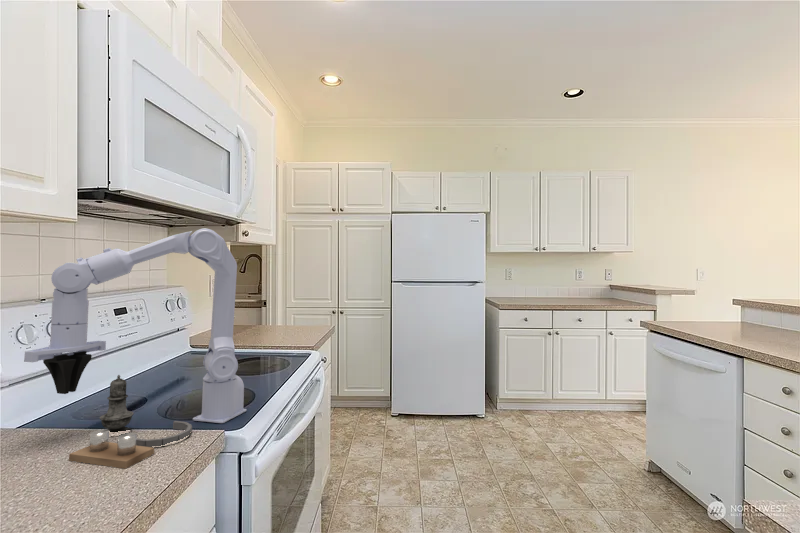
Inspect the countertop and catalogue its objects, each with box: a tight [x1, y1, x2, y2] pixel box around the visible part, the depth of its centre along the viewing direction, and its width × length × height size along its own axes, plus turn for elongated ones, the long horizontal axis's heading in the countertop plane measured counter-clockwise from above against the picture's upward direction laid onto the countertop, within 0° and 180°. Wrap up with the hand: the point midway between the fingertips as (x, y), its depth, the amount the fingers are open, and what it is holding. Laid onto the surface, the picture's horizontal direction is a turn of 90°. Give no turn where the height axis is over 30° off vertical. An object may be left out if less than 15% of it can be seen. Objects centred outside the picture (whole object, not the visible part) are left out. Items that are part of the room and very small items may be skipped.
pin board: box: [68, 428, 155, 469], centre depth 73 cm, size 6×12×4 cm, turn 78°
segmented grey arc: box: [136, 420, 193, 447], centre depth 83 cm, size 11×7×2 cm, turn 168°
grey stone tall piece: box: [99, 374, 135, 432], centre depth 86 cm, size 6×6×12 cm
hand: (66, 392), depth 81 cm, fingers closed
